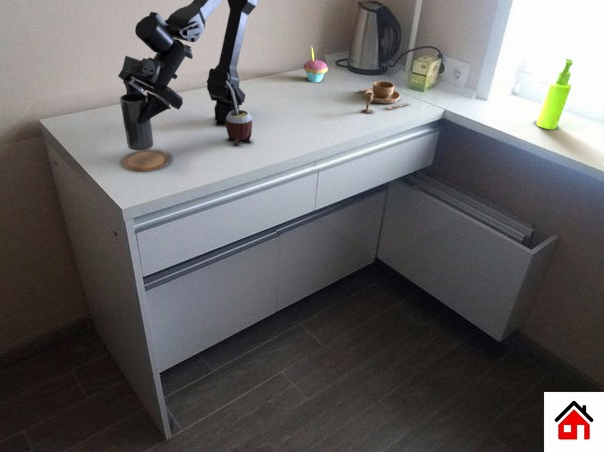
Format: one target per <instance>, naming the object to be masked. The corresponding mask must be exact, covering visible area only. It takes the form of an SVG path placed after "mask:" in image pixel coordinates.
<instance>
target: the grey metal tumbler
mask: <svg viewBox="0 0 604 452" xmlns="http://www.w3.org/2000/svg"><path fill="white" fill-rule="evenodd" d="M146 102H147V94H144V93H143V94H140V93H130V94H126V93H125V94H123V95H120V97H119V103H120V107H121V108H120V109H121V114H122V119H123V120H122V121H123V126H124V132H125V137H126V143H127V148H128V149H130V150H132V151H147V150H149V149H151V148H152V147H153V146H154V137H153V129H152V121H151V119H149V120H147V121H146V122H144V123H143V124H139V123H138V122H137V121H138V118H139V116H140V114H141V112H142V110H143V108H144V106H145V104H146Z"/></svg>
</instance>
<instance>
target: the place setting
mask: <svg viewBox="0 0 604 452" xmlns="http://www.w3.org/2000/svg"><path fill="white" fill-rule="evenodd" d="M394 89H395V85H394V83H391V82H389V81H384V80H380V81H375V82H374V83H373V85H372V88H367V89H363V88H361V89H358V91H359V92H361V93H364V102H365V103H366V105H365V109H363V110H362V113H364V114H372V110H371V109H370V103H372V102H373V103H376V104H386V105H387V104H388V105H389V104H393V103H396V102H398V101H399V100H400V98H401V94H400V92H398V91H396V90H394ZM407 105H408V104H407V103H405V104H398V105H393V106H385V108H386V109H389V110H392V109H393V108H397V107H404V106H407Z"/></svg>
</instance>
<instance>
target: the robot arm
mask: <svg viewBox="0 0 604 452" xmlns="http://www.w3.org/2000/svg"><path fill="white" fill-rule="evenodd" d="M223 1H224V0H193V1H191V3H190V4H188V5H185V6H182V7H180V8H178V9H177V10H175V11H174V12H172V13H171V14H170V15H169V17H167V19H165V20H164V19H163V17H162V16H161V14H160V13H158V12H156V11H150V12H149V15H147V16H145V17H142V18H141V19H140V20H139V21H138V22H137V23H136V25H135V27H134V28H135V30H134V32H135V35H136V37H137V38H138V39H139V40H140V41H141V42H143V43H144V45H146V46H147V47H148V48H149V49H150V50H151V51H152V52H154V53H156V54H155V55H154V57H153V58H152V57H150V56H149V57H148V58H146V57H143V58H142V59H139V58H135V57H131V56H128V55H124V61H123V65H122V69H121V71H120V72H119V73H118V75H117V77H118V78H119V79H120V80H122V83H123V84H124V86H125V90H126V93H125V94H130V93H140V94H144V93H145V92H146V96H147V102H146V104H145V106H144V108H143V110H142V112H141V114H140V116H139V118H138V121H137V122H138V123H139V124H143V123H144V122H146V121H147V120H149V119H150V120H151V119H152V118H154V117H156V116H157V115H159V114H161V113H163V112H165V111H166V110H171V109H172V108H174V109H176V110H178V111H179V110H180V109H181V107H182V106H183V103H184V102H183V97H182V96H181V95H180V94H178V92H175V90H173V89H172V88H171V87H169V86H168V85H169V84H170V82H171V81H172V79H173V80H177V78H178V74H176V73H177V72H178V70H179V67H180V66H181V64H183V61H184V60H185V58H188V59H190V60H192V59H193V57H194V56H193V52H192V47H191V46H190V45H188V44H185V43H183V42H182V41H185V42H189V43H196V42H197V41H198V40H199V39H200V38H201V36H202V34H203V32H204V31H205V29H206V21H207V19H208V18H209V17H210V16H211V15H212V14H213V12H215V10H216V9H217V8H218V7H219V5H220V4H221V3H222V2H223ZM226 1H227V4H228V6H229V7H228V8H229V14H228V17H227V23H226V28H225V32H224V37H223V41H222V46H221V51H220V56H219V61H218V64H217V65H216V66H215V67H214V68H212V67H211V68H210V69H209V71H208V77H207V80H206V90H207V92H208V95H209V97H210V98H209V99H210V101H215V105H214V121H215V125H216V126H226V124H225V123H226V117H227V115H228V114H229V112H231V111H233V110H235V105H234V101H233V97H232V94H231V90H230V88H229V86H228V85H227V83H226V81H228V83H229V84H230V86H231V87H232V89H233V91H234V94H235V95H234V96H235V100H236V105H237V109H238V110H240V106H242V105H243V103H245V100H246V94H245V92H243V90H242V89H241V88H240V76H239V73H238V70H237V68H238V64H239V63H238V62H239V59H240V54H241V49H242V45H243V40H244V36H245V30H246V26H247V21H248V19H249V15H250V14H251V13H252V12H253V10H255V8H256V7H257V6H258V2H259V0H226Z"/></svg>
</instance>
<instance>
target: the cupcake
mask: <svg viewBox="0 0 604 452" xmlns="http://www.w3.org/2000/svg"><path fill="white" fill-rule="evenodd" d="M310 52H311V53H310V54H311V59H310V60H307V61H306V62H305V63H304V64H303V70H304V71H305V73H306V76H307V80H308V81H309V82H311V83H319V82H321V81H322V79H323V77H324V75H325V73H327V72H328V64H326V62H324V61H323V60H320V59H315V55H314V48H313V46H312V45H310Z"/></svg>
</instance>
